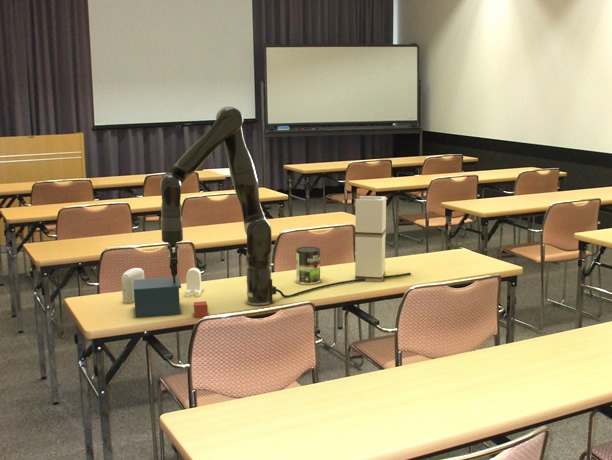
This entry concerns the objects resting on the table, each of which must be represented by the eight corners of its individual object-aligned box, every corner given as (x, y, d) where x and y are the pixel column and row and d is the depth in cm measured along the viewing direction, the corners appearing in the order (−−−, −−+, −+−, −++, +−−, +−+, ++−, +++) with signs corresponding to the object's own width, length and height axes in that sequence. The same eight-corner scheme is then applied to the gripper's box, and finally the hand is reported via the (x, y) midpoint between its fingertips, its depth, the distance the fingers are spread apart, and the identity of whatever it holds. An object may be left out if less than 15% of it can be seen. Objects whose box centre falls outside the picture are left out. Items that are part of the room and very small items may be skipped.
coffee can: (325, 281, 320) (325, 249, 317) (306, 286, 313) (305, 252, 311) (310, 277, 328) (310, 245, 325) (291, 281, 321) (290, 248, 318)
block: (206, 312, 277) (206, 301, 276) (207, 316, 273) (207, 304, 272) (194, 313, 276) (193, 302, 275) (195, 317, 271) (194, 305, 270)
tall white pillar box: (385, 275, 331) (386, 196, 324) (381, 281, 320) (382, 200, 313) (359, 274, 333) (359, 195, 326) (355, 280, 322) (355, 199, 315)
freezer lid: (178, 278, 286) (178, 265, 285) (181, 288, 273) (180, 274, 272) (133, 281, 281) (132, 268, 280) (133, 291, 269) (133, 277, 268)
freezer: (177, 303, 288) (176, 279, 286) (180, 314, 275) (178, 288, 273) (135, 307, 283) (133, 281, 281) (135, 318, 271) (133, 291, 269)
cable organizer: (202, 289, 307) (201, 265, 305) (199, 296, 298) (198, 272, 296) (189, 289, 307) (188, 266, 305) (185, 296, 297) (184, 272, 295)
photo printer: (130, 304, 287) (128, 272, 285) (121, 302, 289) (119, 271, 287) (147, 296, 297) (145, 266, 294) (138, 295, 298) (136, 265, 296)
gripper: (183, 231, 270) (185, 275, 273) (181, 224, 283) (182, 266, 286) (162, 232, 267) (164, 276, 270) (160, 225, 281) (162, 267, 284)
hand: (173, 271), depth 278 cm, fingers open, 8 cm apart
